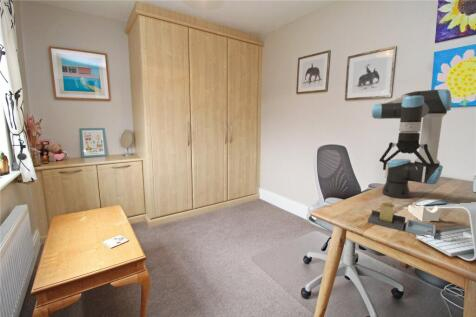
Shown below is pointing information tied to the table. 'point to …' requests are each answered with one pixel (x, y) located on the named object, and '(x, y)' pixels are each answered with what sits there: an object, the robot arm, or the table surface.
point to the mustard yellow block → (387, 212)
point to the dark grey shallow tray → (397, 220)
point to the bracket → (425, 213)
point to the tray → (419, 228)
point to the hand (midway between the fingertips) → (403, 179)
